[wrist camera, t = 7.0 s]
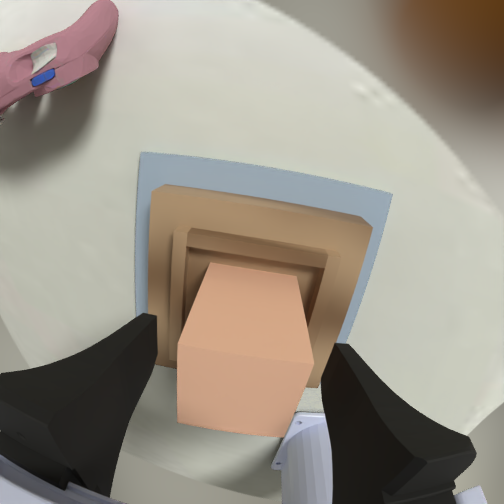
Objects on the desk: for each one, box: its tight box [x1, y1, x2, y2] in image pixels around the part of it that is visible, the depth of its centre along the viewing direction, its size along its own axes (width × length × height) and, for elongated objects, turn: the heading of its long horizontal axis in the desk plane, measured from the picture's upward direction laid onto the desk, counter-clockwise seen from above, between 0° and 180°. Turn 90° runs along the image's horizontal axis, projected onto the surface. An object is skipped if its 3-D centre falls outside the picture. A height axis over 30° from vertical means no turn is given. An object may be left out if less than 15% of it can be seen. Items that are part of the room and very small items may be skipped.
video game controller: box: [0, 0, 119, 126], centre depth 10 cm, size 10×5×7 cm, turn 95°
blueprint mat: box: [135, 152, 393, 383], centre depth 17 cm, size 13×13×1 cm
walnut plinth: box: [148, 184, 373, 388], centre depth 15 cm, size 10×10×3 cm
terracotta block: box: [177, 262, 314, 437], centre depth 12 cm, size 4×4×6 cm
